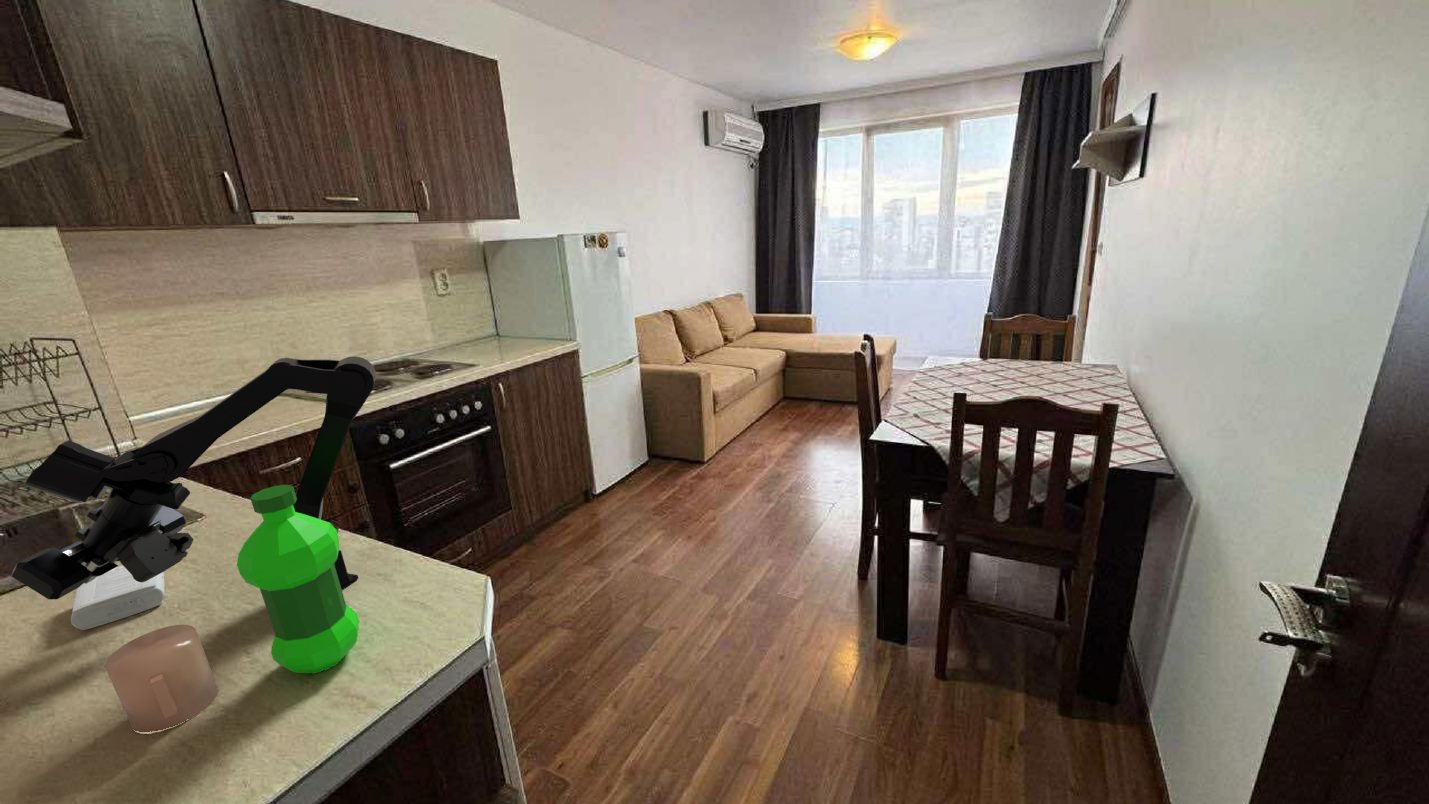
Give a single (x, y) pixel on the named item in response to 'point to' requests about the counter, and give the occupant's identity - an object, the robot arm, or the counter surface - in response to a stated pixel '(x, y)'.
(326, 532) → the plastic bottle
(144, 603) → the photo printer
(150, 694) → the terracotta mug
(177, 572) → the counter surface
